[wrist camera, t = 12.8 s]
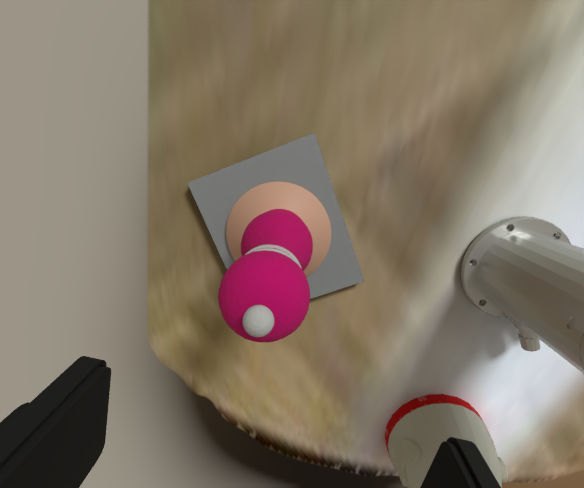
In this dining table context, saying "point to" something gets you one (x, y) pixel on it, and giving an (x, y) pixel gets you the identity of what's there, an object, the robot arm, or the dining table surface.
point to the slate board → (281, 195)
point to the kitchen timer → (435, 436)
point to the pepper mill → (268, 278)
